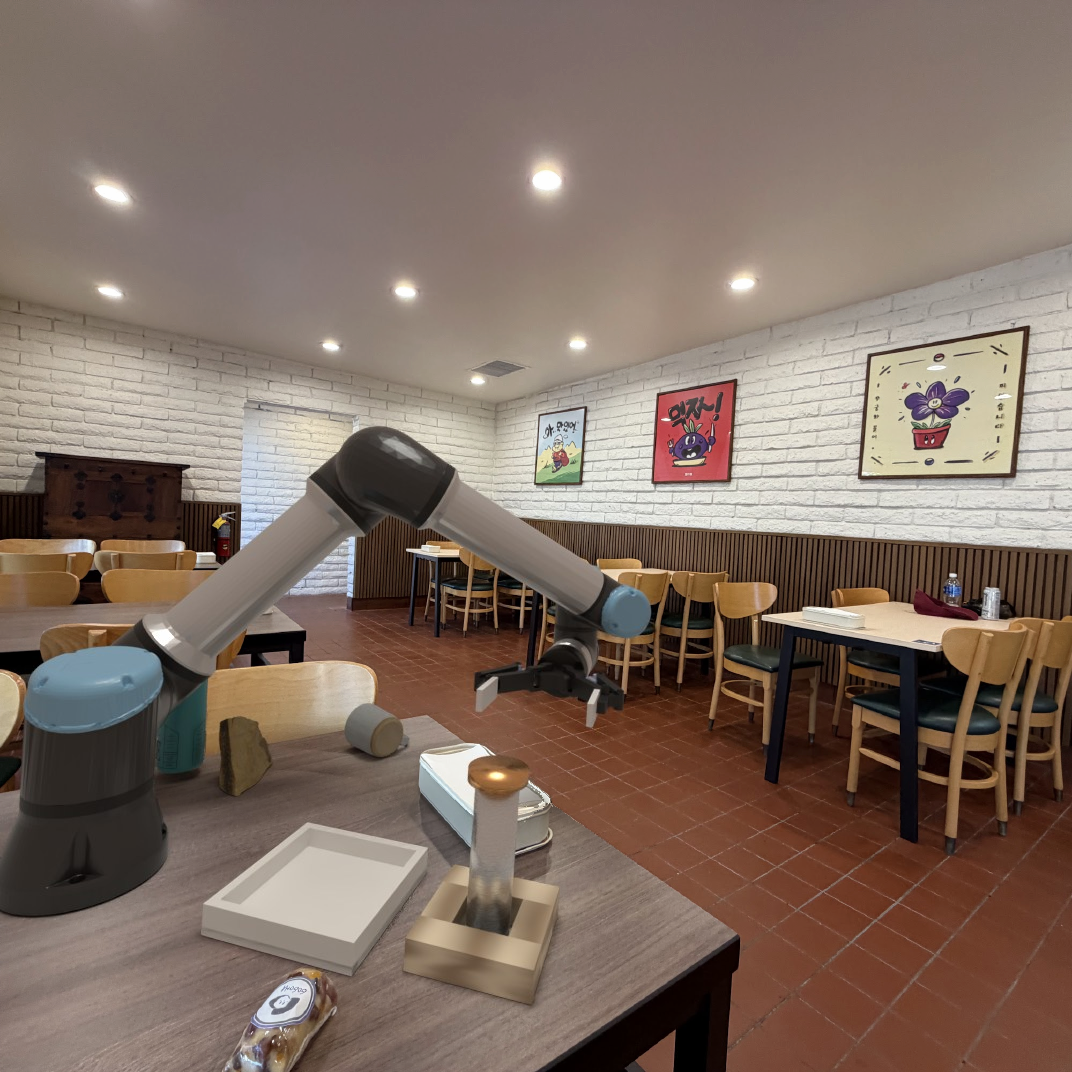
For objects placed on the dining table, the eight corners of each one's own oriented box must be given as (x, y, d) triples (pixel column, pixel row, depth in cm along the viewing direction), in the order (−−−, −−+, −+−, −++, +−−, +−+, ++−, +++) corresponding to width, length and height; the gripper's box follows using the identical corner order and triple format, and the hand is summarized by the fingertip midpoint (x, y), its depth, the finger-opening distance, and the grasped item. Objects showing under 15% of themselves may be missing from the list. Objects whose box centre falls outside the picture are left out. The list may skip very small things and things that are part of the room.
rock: (258, 742, 94) (196, 750, 86) (284, 707, 92) (224, 713, 84) (281, 799, 89) (218, 814, 81) (309, 763, 87) (248, 775, 79)
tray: (201, 935, 54) (203, 903, 54) (305, 846, 69) (307, 822, 69) (351, 976, 50) (353, 943, 50) (426, 873, 66) (428, 847, 66)
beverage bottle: (212, 773, 87) (221, 644, 87) (165, 788, 81) (174, 650, 81) (190, 761, 90) (199, 637, 90) (144, 775, 85) (153, 642, 85)
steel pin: (446, 955, 53) (459, 774, 53) (468, 914, 59) (479, 751, 59) (507, 970, 52) (520, 785, 52) (523, 927, 58) (535, 760, 58)
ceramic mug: (370, 764, 94) (374, 718, 94) (341, 750, 99) (345, 706, 99) (419, 749, 102) (422, 706, 102) (390, 736, 107) (394, 696, 107)
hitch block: (403, 970, 51) (405, 938, 51) (452, 891, 63) (454, 864, 63) (531, 1005, 49) (533, 970, 48) (557, 914, 60) (559, 887, 60)
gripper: (644, 701, 85) (637, 754, 65) (486, 682, 91) (433, 725, 70) (647, 652, 85) (641, 689, 64) (489, 635, 91) (437, 664, 70)
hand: (533, 708), depth 67 cm, fingers open, 13 cm apart
